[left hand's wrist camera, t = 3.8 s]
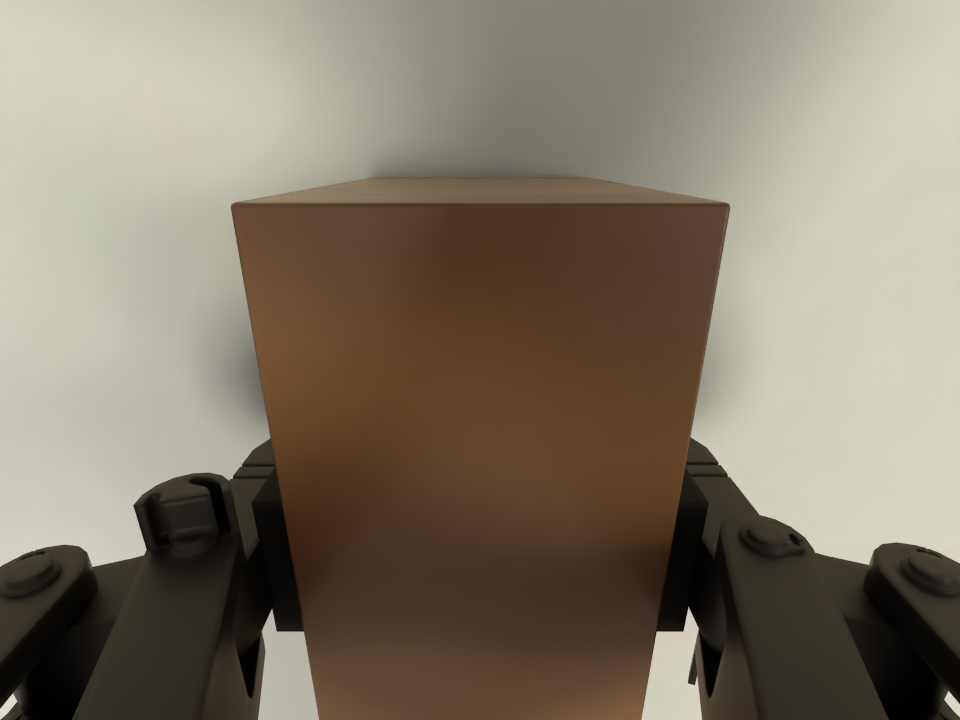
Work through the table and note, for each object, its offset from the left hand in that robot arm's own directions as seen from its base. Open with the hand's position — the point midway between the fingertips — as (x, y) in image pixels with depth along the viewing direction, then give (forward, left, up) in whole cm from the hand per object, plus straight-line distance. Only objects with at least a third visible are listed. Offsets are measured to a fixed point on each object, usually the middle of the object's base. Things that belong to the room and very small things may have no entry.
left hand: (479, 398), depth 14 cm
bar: (+35, +7, -1) cm, 35 cm away
